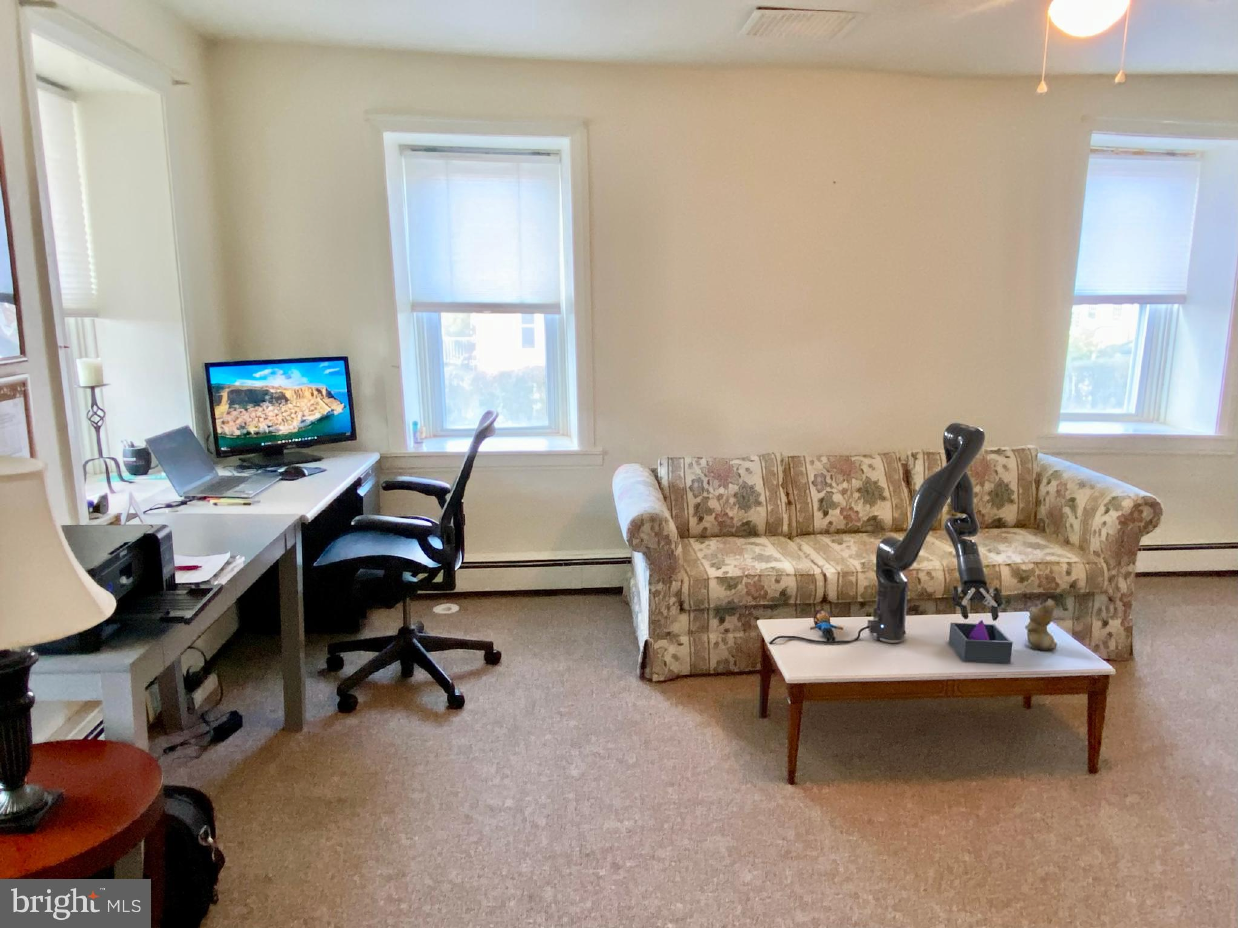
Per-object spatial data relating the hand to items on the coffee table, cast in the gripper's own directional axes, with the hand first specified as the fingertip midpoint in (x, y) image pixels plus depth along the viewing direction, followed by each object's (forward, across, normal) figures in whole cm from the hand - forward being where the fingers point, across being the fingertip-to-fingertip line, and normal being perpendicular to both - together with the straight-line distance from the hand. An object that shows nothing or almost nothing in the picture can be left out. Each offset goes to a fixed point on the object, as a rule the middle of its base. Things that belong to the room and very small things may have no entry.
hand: (980, 619), depth 232 cm
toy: (+1, -45, +15) cm, 47 cm away
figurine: (+3, +21, +13) cm, 25 cm away
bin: (+8, 0, +7) cm, 11 cm away
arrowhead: (+7, 0, +7) cm, 10 cm away
